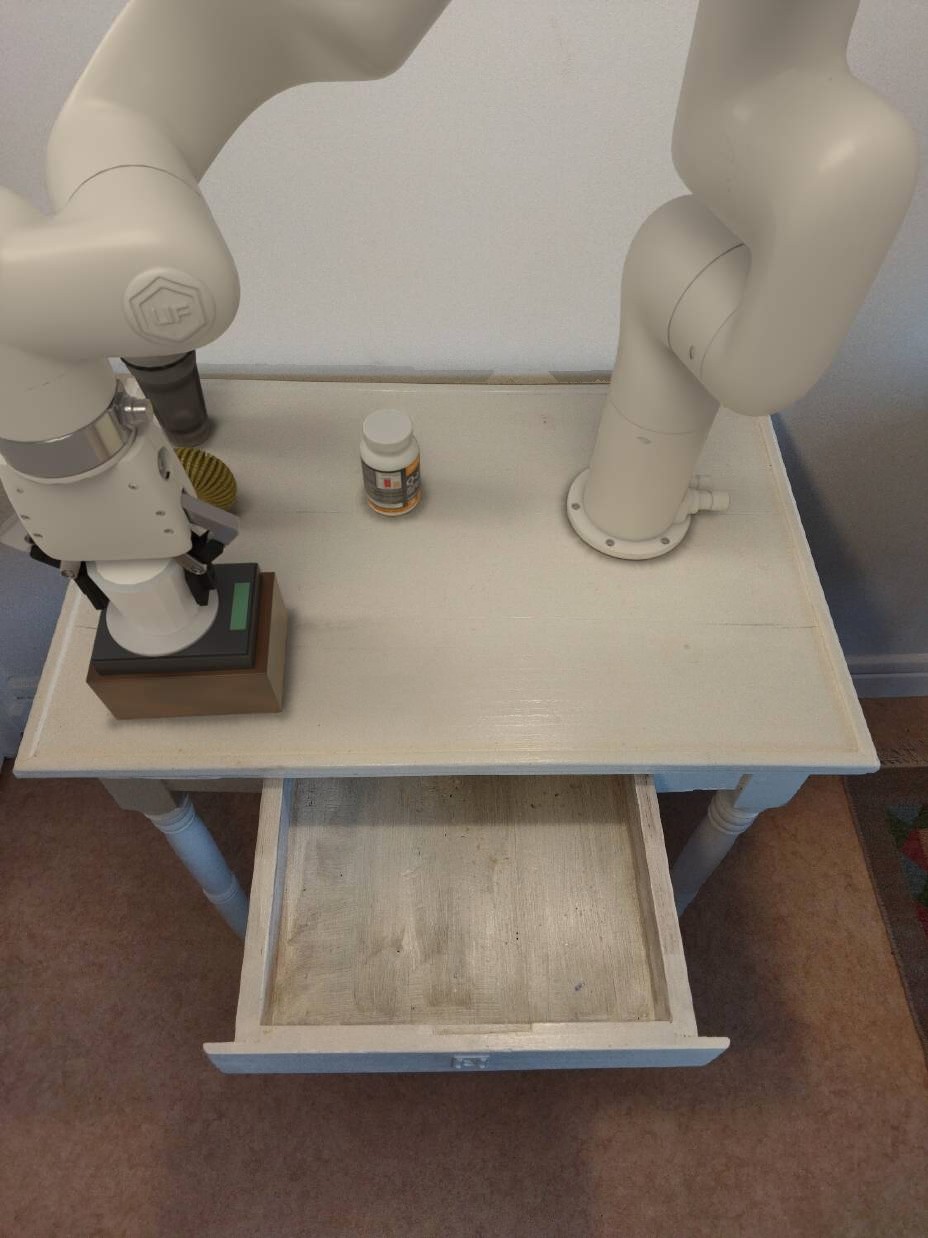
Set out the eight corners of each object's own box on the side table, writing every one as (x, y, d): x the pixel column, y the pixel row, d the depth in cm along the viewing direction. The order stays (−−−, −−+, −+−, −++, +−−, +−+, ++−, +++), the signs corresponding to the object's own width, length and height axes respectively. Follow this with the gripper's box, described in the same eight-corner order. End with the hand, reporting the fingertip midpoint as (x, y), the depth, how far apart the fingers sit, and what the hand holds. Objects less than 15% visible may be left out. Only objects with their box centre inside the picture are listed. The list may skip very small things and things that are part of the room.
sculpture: (249, 500, 80) (232, 443, 74) (238, 530, 78) (219, 475, 72) (173, 490, 81) (149, 433, 74) (160, 520, 79) (134, 464, 72)
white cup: (188, 650, 60) (160, 600, 54) (103, 634, 61) (67, 582, 55) (221, 578, 64) (198, 523, 58) (140, 563, 64) (110, 508, 58)
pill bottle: (422, 517, 80) (420, 447, 71) (365, 519, 80) (357, 449, 71) (419, 475, 83) (417, 403, 74) (365, 477, 83) (356, 405, 74)
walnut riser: (288, 614, 73) (274, 571, 67) (281, 712, 68) (266, 674, 62) (134, 620, 72) (107, 577, 66) (116, 719, 67) (85, 681, 61)
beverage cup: (204, 464, 83) (144, 297, 66) (141, 448, 84) (66, 280, 67) (234, 417, 87) (184, 248, 70) (173, 403, 88) (110, 233, 71)
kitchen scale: (262, 576, 67) (256, 558, 65) (254, 669, 62) (247, 652, 60) (118, 581, 66) (107, 563, 64) (99, 675, 62) (86, 659, 59)
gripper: (220, 371, 48) (273, 549, 63) (-76, 377, 47) (50, 557, 62) (206, 463, 44) (266, 629, 59) (-118, 472, 43) (28, 639, 58)
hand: (155, 591), depth 60 cm, fingers closed on white cup, 6 cm apart
